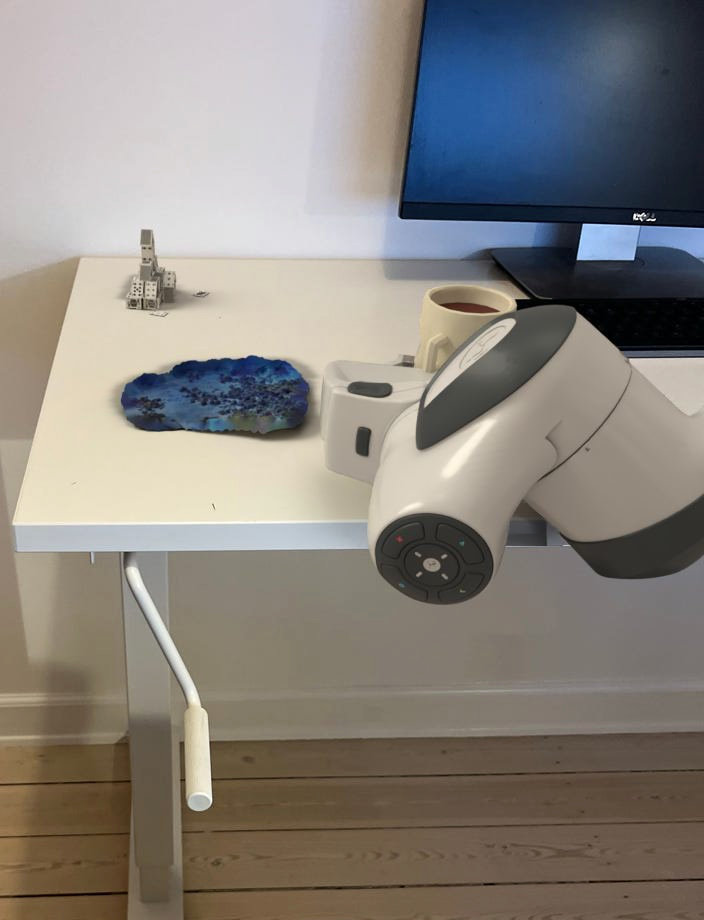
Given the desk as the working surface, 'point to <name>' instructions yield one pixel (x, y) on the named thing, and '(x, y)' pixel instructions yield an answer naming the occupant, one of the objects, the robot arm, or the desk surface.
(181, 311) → the desk surface
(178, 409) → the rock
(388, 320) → the desk surface
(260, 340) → the desk surface
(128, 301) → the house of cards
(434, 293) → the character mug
